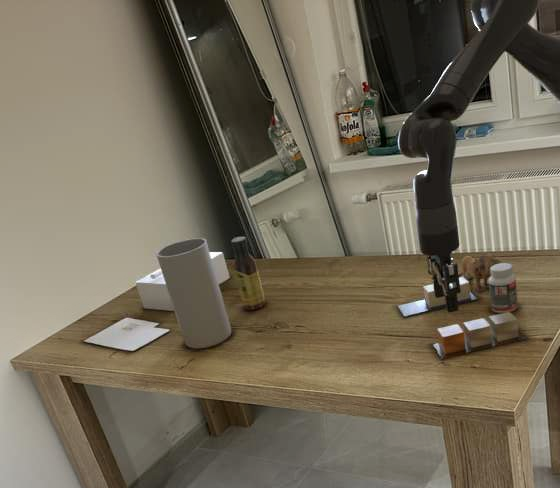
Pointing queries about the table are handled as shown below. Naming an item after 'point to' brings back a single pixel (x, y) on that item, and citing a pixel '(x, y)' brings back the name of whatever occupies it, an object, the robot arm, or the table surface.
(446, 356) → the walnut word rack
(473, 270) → the lion figurine
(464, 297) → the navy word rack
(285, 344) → the table surface
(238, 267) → the sauce bottle
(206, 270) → the cylinder vase
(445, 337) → the orange cube
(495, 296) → the pill bottle
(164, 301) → the tissue box
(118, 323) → the paper
